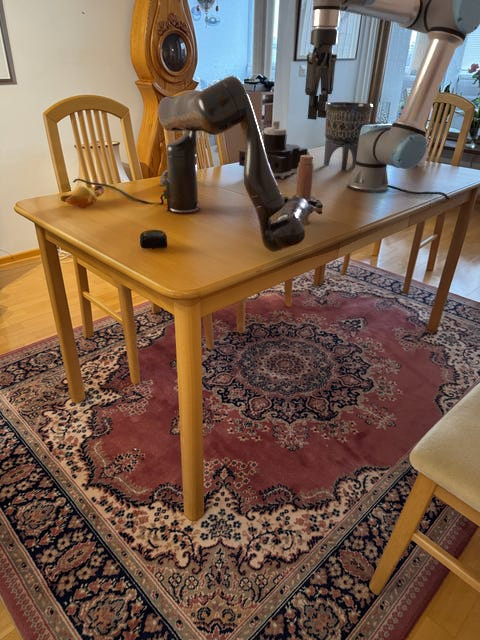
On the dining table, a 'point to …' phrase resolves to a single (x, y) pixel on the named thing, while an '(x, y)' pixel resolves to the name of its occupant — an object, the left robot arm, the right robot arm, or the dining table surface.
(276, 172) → the mechanical component
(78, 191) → the toy
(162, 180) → the rock
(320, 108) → the lid
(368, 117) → the planter
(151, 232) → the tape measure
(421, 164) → the figurine
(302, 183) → the pinkish brown rounded rod
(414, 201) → the dining table surface
